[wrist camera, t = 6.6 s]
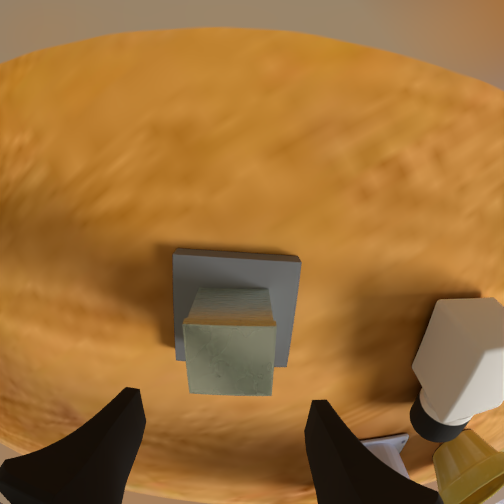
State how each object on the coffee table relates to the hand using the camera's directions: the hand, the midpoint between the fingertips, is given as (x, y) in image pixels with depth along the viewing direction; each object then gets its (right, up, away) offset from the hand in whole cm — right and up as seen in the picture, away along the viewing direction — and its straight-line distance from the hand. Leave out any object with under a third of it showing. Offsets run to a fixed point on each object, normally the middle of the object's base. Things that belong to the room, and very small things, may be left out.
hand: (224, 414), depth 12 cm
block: (0, +3, +11) cm, 11 cm away
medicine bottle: (+19, +2, +6) cm, 20 cm away
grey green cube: (0, +2, +9) cm, 9 cm away
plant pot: (+28, -19, +17) cm, 37 cm away
